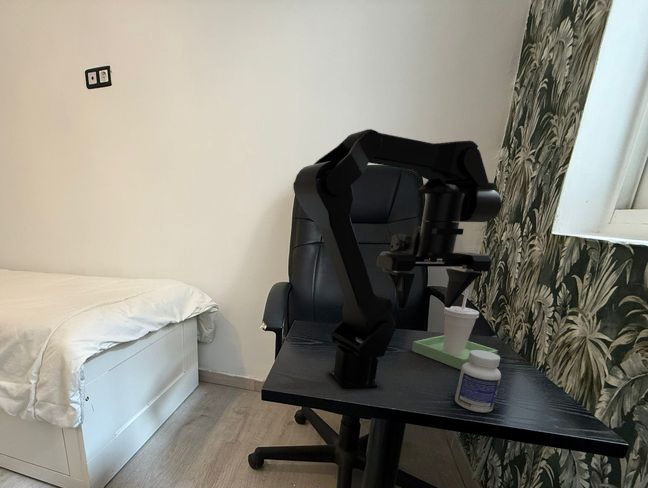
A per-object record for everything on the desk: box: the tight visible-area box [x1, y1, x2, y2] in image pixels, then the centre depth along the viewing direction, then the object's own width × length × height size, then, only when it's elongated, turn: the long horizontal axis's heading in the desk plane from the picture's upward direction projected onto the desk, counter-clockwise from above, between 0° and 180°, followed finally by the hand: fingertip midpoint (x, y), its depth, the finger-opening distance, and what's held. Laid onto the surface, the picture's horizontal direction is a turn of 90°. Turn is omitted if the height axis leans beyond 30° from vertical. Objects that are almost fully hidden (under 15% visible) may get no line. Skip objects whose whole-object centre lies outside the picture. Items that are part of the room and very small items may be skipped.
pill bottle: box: [454, 350, 502, 413], centre depth 57 cm, size 5×5×9 cm
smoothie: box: [443, 288, 480, 355], centre depth 76 cm, size 6×6×14 cm
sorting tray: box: [411, 334, 499, 371], centre depth 78 cm, size 12×11×2 cm
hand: (424, 307), depth 67 cm, fingers open, 9 cm apart
